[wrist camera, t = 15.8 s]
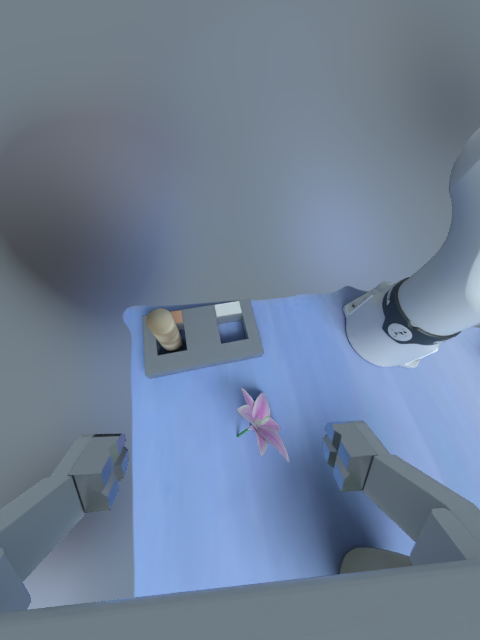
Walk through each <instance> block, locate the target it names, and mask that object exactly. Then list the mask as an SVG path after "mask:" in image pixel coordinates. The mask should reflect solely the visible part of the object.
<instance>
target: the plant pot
mask: <svg viewBox="0 0 480 640" xmlns="http://www.w3.org/2000/svg"><path fill="white" fill-rule="evenodd" d="M407 566H413V564H412V562H411V561H410V557H409V556H406V555H403V554H400V553H396V552H392V551H388V550H383V549H377V548H367V547H358V548H354V549H352V550H350V551H349V552H348V553H347V554H346V555H345V557H344V558H343V560H342V563H341V567H340V574H346V573H355V572H363V571H372V570H381V569H390V568H399V567H407Z"/></svg>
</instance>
